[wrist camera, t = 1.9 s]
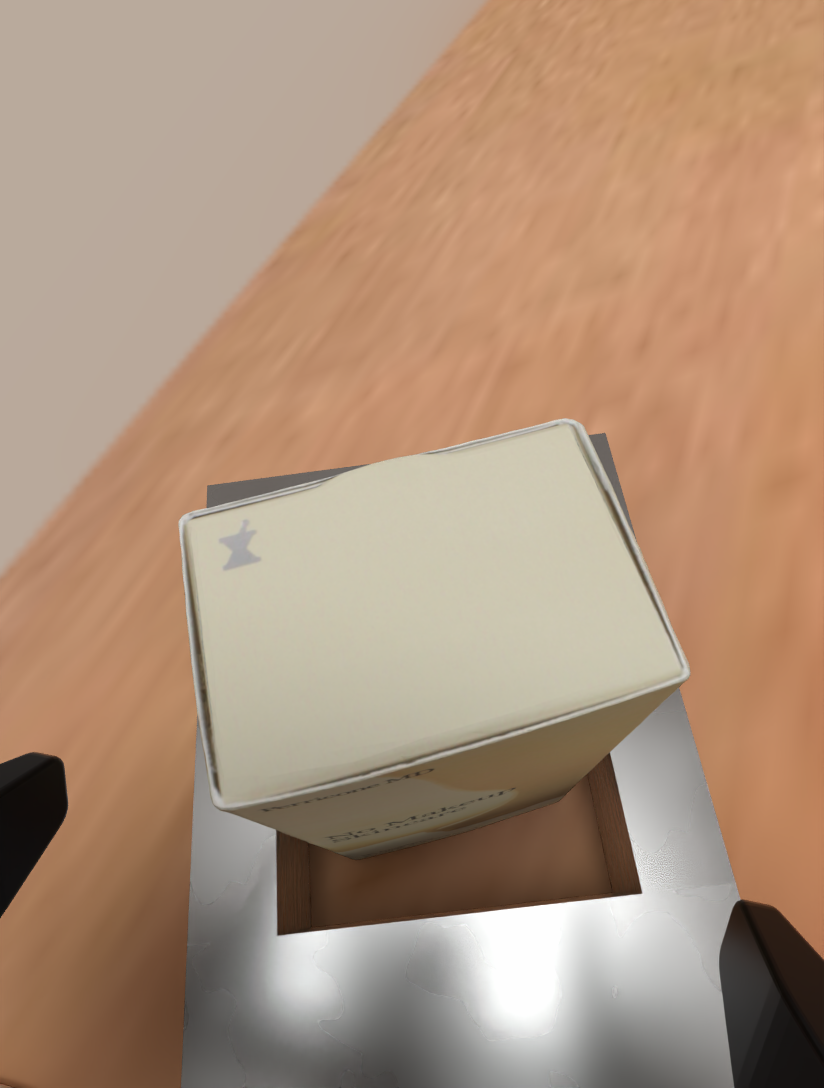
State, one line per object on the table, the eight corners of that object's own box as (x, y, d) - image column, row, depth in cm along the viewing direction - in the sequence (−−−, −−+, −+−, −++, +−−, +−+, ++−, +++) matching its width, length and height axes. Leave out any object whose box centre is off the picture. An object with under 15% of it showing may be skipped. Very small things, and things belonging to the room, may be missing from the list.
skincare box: (351, 866, 18) (177, 833, 8) (321, 712, 20) (149, 514, 10) (574, 800, 19) (715, 681, 8) (524, 655, 21) (579, 401, 10)
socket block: (739, 1074, 16) (804, 1120, 13) (233, 1128, 16) (176, 1186, 13) (587, 494, 23) (605, 433, 20) (242, 539, 23) (207, 485, 20)
